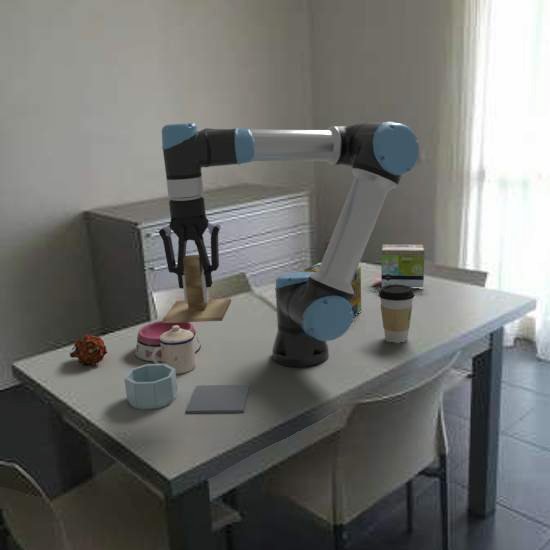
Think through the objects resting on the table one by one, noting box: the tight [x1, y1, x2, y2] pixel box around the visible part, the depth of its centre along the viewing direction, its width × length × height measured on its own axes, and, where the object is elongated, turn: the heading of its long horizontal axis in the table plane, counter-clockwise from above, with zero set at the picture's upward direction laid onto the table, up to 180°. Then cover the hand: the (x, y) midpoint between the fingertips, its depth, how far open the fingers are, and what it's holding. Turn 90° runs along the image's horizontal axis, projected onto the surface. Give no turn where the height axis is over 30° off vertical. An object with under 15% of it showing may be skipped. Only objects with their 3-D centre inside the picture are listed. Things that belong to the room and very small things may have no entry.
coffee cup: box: [378, 285, 415, 344], centre depth 174 cm, size 10×10×15 cm
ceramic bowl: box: [124, 363, 178, 410], centre depth 145 cm, size 11×11×6 cm
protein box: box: [303, 262, 362, 318], centre depth 198 cm, size 10×15×16 cm
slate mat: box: [185, 384, 251, 414], centre depth 144 cm, size 13×13×1 cm
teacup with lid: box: [152, 325, 197, 375], centre depth 161 cm, size 12×9×12 cm
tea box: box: [380, 244, 425, 288], centre depth 225 cm, size 15×10×15 cm
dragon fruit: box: [69, 334, 108, 366], centre depth 169 cm, size 8×8×12 cm
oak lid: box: [162, 254, 232, 323], centre depth 137 cm, size 13×13×13 cm
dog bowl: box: [134, 320, 202, 364], centre depth 175 cm, size 18×19×7 cm
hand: (197, 301), depth 139 cm, fingers closed on oak lid, 3 cm apart
